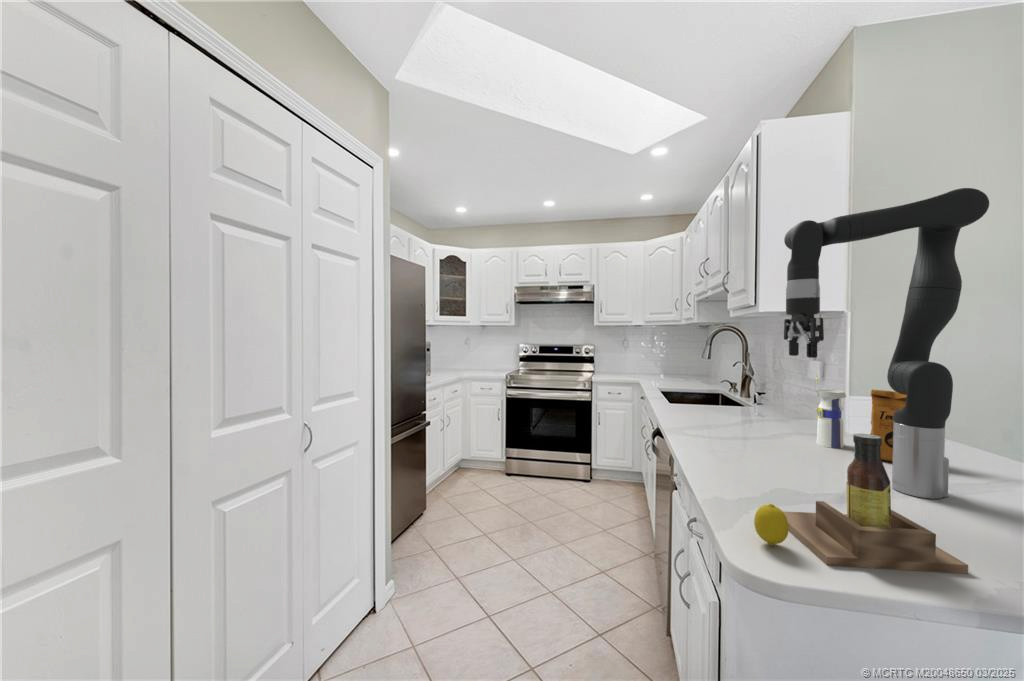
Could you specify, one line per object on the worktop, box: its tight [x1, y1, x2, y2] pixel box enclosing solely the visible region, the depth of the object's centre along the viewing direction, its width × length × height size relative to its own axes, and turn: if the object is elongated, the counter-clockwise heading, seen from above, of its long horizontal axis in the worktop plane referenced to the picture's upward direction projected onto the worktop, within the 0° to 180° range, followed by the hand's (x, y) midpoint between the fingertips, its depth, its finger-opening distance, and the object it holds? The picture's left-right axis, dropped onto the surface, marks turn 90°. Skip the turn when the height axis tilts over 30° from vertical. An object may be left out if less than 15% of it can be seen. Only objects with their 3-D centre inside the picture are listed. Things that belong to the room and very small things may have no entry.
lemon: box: [753, 503, 789, 546], centre depth 78 cm, size 6×6×8 cm
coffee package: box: [870, 388, 907, 463], centre depth 127 cm, size 10×12×22 cm
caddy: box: [782, 500, 969, 575], centre depth 79 cm, size 22×18×6 cm
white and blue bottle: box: [815, 373, 847, 449], centre depth 144 cm, size 8×9×25 cm
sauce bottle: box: [846, 433, 892, 528], centre depth 76 cm, size 6×6×20 cm
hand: (802, 356), depth 111 cm, fingers open, 8 cm apart
